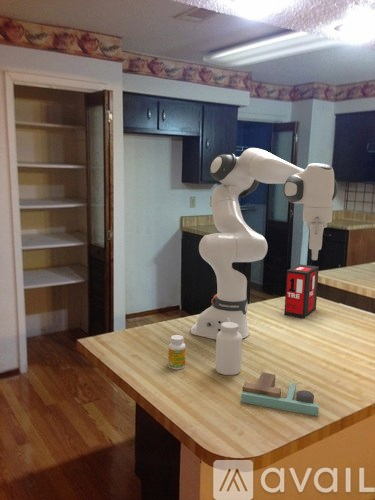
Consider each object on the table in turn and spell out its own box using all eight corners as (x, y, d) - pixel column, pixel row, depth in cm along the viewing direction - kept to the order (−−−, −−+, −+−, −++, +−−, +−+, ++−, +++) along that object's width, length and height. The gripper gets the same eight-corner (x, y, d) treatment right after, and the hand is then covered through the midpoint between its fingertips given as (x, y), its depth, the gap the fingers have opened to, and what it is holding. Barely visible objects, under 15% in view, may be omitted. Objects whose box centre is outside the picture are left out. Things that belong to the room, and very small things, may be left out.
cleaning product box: (297, 305, 207) (299, 264, 203) (315, 309, 202) (318, 266, 198) (284, 314, 193) (286, 270, 190) (304, 318, 188) (307, 273, 185)
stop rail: (240, 401, 118) (241, 393, 118) (249, 383, 129) (249, 375, 129) (318, 416, 112) (318, 407, 111) (320, 395, 123) (320, 387, 122)
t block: (242, 399, 120) (242, 386, 119) (251, 381, 130) (251, 370, 130) (278, 406, 117) (279, 393, 116) (285, 388, 127) (285, 376, 126)
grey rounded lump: (295, 409, 115) (296, 397, 114) (295, 401, 119) (296, 389, 119) (313, 412, 114) (313, 399, 113) (313, 403, 118) (313, 391, 118)
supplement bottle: (172, 371, 136) (173, 341, 135) (165, 364, 141) (165, 335, 139) (188, 367, 139) (188, 338, 137) (180, 361, 143) (180, 333, 142)
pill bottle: (233, 378, 132) (235, 330, 129) (210, 371, 136) (211, 325, 134) (245, 368, 139) (246, 323, 136) (222, 362, 143) (223, 318, 140)
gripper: (328, 219, 127) (325, 266, 129) (327, 213, 146) (324, 254, 149) (305, 218, 129) (303, 264, 131) (307, 213, 148) (305, 253, 150)
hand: (314, 259), depth 140 cm, fingers closed
